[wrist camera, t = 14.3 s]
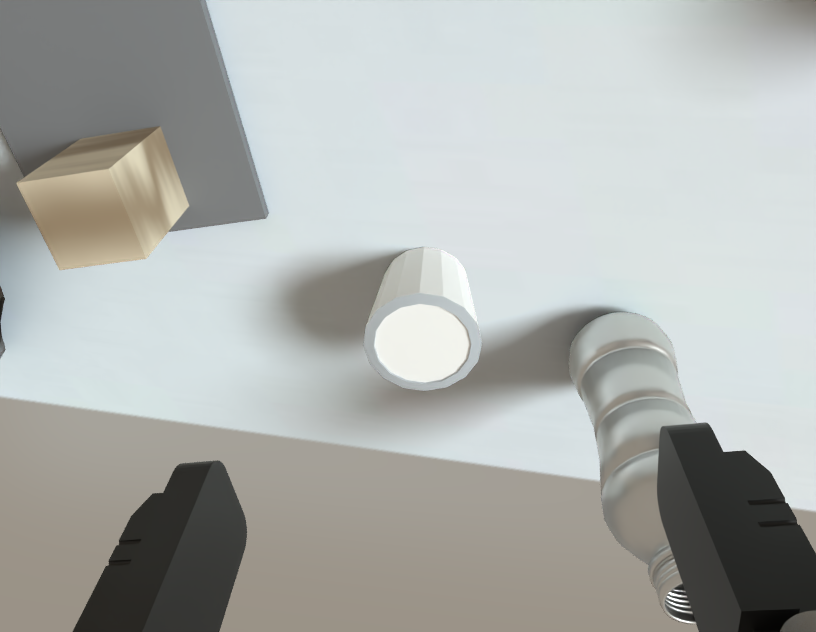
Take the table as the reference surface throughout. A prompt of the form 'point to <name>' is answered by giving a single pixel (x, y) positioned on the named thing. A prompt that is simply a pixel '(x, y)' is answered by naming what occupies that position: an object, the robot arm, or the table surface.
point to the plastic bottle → (633, 435)
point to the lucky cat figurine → (0, 344)
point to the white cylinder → (423, 322)
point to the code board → (128, 93)
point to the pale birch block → (106, 198)
